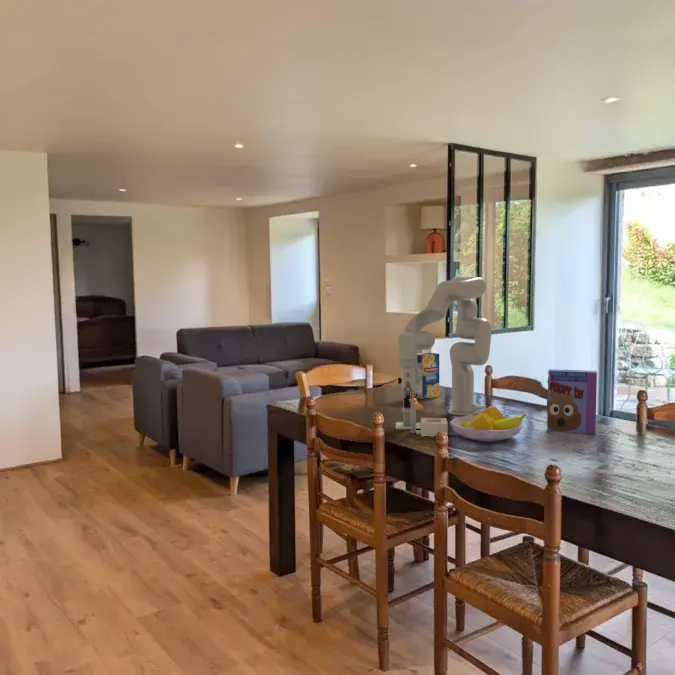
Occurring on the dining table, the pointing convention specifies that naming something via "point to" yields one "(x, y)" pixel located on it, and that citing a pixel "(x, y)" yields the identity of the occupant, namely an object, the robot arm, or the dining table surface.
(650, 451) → the dining table surface
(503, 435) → the fruit bowl
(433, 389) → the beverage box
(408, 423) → the plug
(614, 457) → the dining table surface
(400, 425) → the mat
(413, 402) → the bar
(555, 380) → the cereal box
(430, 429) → the socket block
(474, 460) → the dining table surface
